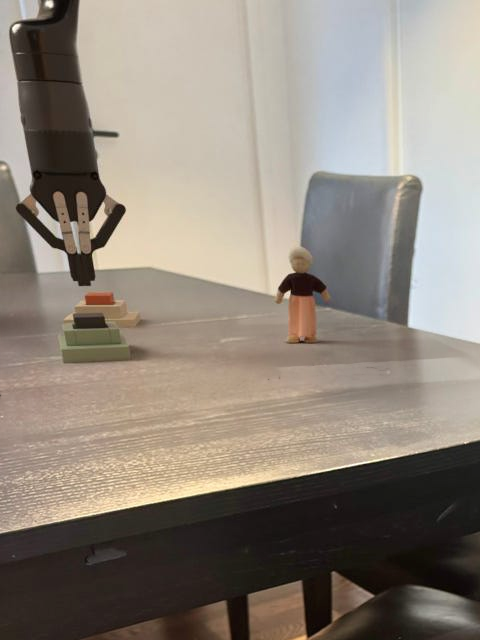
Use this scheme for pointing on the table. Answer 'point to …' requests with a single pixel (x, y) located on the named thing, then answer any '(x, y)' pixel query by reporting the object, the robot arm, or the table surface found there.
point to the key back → (99, 299)
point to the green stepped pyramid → (93, 344)
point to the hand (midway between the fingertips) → (84, 285)
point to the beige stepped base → (108, 313)
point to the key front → (89, 320)
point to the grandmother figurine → (301, 296)
